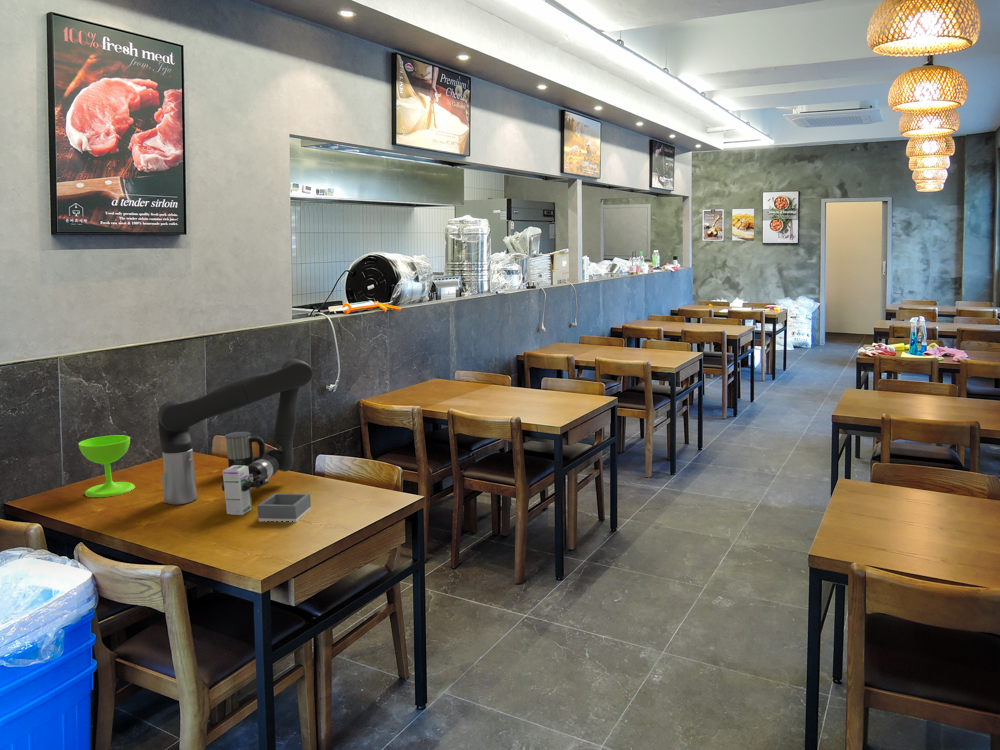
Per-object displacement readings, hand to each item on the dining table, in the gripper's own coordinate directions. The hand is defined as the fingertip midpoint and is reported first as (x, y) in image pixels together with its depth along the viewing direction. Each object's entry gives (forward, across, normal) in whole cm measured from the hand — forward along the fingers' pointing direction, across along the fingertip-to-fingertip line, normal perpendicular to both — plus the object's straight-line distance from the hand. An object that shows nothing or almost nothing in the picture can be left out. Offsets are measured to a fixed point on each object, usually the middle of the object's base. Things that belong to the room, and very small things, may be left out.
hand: (233, 488), depth 236 cm
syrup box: (-2, 0, +9) cm, 9 cm away
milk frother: (-50, -20, +9) cm, 54 cm away
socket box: (0, +16, +8) cm, 18 cm away
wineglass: (-21, -57, +9) cm, 62 cm away
